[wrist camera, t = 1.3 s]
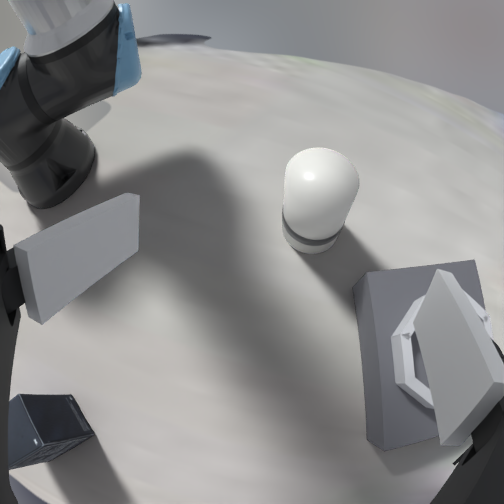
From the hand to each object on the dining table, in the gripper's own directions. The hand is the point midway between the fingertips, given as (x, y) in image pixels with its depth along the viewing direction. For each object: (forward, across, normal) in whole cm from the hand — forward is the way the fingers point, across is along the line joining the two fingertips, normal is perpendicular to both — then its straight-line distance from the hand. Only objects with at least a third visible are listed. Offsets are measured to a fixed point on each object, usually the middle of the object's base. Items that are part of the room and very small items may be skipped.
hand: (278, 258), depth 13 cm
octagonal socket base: (+17, +17, -16) cm, 29 cm away
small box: (+1, -22, -32) cm, 39 cm away
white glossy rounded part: (+26, +1, -7) cm, 27 cm away
